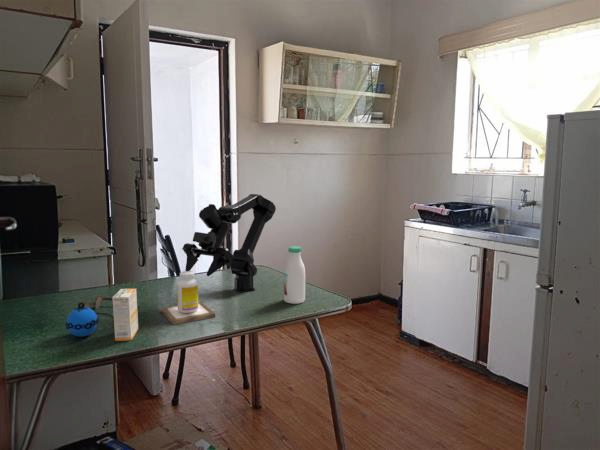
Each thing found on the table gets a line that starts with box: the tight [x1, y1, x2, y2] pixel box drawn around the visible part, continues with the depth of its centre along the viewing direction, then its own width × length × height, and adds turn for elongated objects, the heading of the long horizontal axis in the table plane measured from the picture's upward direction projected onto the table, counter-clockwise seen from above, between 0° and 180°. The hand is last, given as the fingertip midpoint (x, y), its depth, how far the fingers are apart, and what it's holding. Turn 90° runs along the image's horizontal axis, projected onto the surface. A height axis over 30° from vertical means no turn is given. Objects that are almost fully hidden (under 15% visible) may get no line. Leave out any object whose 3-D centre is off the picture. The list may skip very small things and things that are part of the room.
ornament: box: [65, 302, 99, 338], centre depth 135 cm, size 9×9×10 cm
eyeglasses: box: [84, 294, 142, 320], centre depth 156 cm, size 15×15×5 cm
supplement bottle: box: [176, 270, 199, 313], centre depth 154 cm, size 7×7×13 cm
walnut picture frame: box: [160, 301, 216, 326], centre depth 155 cm, size 14×14×1 cm
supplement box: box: [111, 288, 139, 342], centre depth 136 cm, size 8×5×13 cm, turn 5°
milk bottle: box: [283, 245, 306, 305], centre depth 168 cm, size 8×8×20 cm
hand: (196, 273), depth 157 cm, fingers open, 9 cm apart
